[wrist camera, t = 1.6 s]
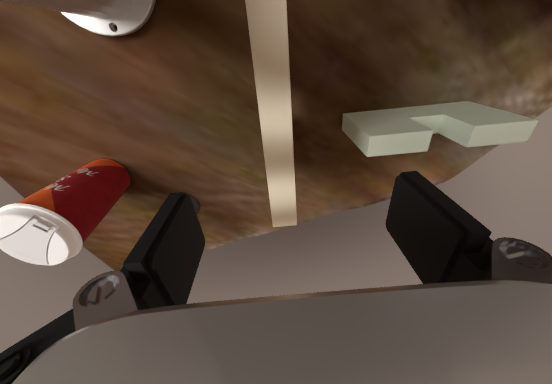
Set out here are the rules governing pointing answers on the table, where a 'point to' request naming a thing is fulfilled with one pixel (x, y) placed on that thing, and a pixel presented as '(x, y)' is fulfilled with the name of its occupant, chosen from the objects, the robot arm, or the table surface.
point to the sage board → (434, 127)
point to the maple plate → (274, 103)
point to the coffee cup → (62, 213)
